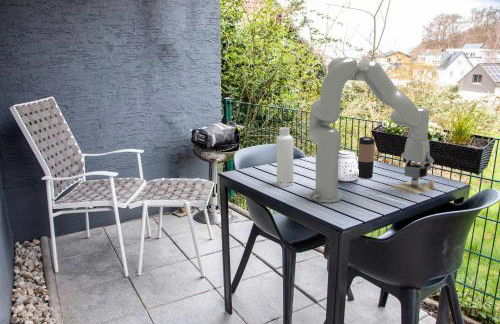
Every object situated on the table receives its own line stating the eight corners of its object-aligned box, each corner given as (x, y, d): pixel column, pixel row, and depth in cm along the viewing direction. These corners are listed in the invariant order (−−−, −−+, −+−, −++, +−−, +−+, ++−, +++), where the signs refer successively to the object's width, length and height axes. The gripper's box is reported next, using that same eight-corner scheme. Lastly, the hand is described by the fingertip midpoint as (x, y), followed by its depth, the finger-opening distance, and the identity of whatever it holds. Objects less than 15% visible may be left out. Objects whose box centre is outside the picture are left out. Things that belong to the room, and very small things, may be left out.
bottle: (292, 187, 185) (292, 129, 178) (275, 186, 186) (274, 129, 179) (294, 182, 192) (293, 126, 185) (278, 181, 194) (277, 126, 187)
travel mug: (355, 177, 196) (357, 139, 191) (359, 174, 202) (360, 136, 197) (371, 179, 192) (373, 140, 187) (374, 175, 199) (376, 137, 194)
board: (415, 197, 166) (415, 194, 165) (390, 189, 176) (390, 187, 176) (436, 190, 173) (436, 187, 173) (410, 183, 184) (411, 181, 184)
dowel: (431, 189, 171) (432, 181, 171) (428, 188, 173) (429, 180, 172) (433, 188, 172) (434, 181, 171) (430, 187, 174) (431, 180, 173)
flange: (417, 178, 170) (418, 169, 169) (404, 175, 176) (404, 166, 174) (435, 173, 176) (435, 164, 175) (421, 170, 182) (422, 161, 181)
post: (415, 187, 174) (415, 179, 173) (409, 186, 176) (410, 178, 175) (419, 186, 175) (420, 178, 174) (413, 185, 178) (414, 176, 177)
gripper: (396, 134, 175) (394, 172, 180) (431, 139, 161) (428, 180, 165) (406, 132, 179) (404, 169, 183) (441, 137, 165) (438, 177, 169)
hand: (415, 174), depth 174 cm, fingers closed on flange, 6 cm apart
